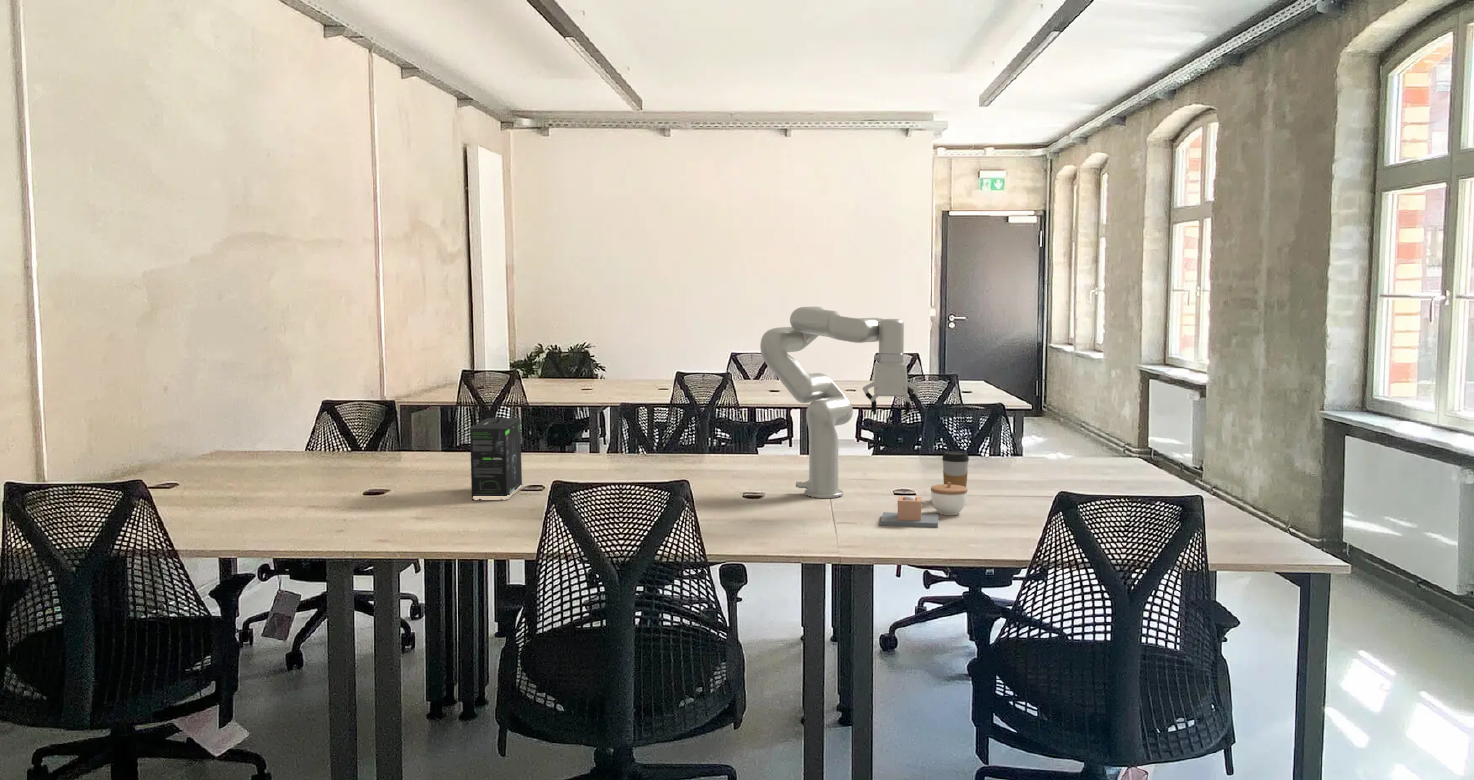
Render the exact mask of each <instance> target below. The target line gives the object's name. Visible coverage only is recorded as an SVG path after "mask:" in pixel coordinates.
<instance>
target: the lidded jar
mask: <svg viewBox="0 0 1474 780" xmlns="http://www.w3.org/2000/svg"><path fill="white" fill-rule="evenodd" d="M930 494H931V495H930V498H931V503H932V506H933V508H934V509H935V510H936V511H937V513H938V512H939V513H940V514H939V513H938V514H939V515H943V514H944V516H955V515H956V516H957V515H960V512H962V510H963V509H964V508H965V506H966V505H967V504H966V503H967V497H968V488H967V486H966V487H964V486H960V485H952V484H951V482H947V484H944V483H943V484H935V485H932V486H931V487H930Z"/></svg>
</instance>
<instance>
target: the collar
mask: <svg viewBox="0 0 1474 780" xmlns="http://www.w3.org/2000/svg"><path fill="white" fill-rule="evenodd" d="M905 497H906V496H903V495H902V496H900V495H899V496H898V498H897V513H898V520H919V521H921V514H922V500H923V498H922V496H914V497H915V500H905Z"/></svg>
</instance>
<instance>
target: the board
mask: <svg viewBox="0 0 1474 780" xmlns="http://www.w3.org/2000/svg"><path fill="white" fill-rule="evenodd" d="M915 497H916V496H912V495H909V496H907V495H906V496H905V500H915ZM880 519H881V520H880V526H887V527H888V526H889V527H890V526H891V527H892V526H894V527H912V528H913V527H917V528H919V527H921V528H938V527H939V513H937V514H936V513H921V521H919V520H898V512H888V511H887V512H885V511H884V512H882V515H881V518H880Z"/></svg>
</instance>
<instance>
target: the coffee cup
mask: <svg viewBox="0 0 1474 780" xmlns="http://www.w3.org/2000/svg"><path fill="white" fill-rule="evenodd" d="M969 458H970V457H969V456H968V452H966V451H959V450H949V451H948V450H947V451H944V452H943V455H942V459H941V460H942V468H943V469H942V472H943V473H942V474H943V475H942V476H943V484H947V482H951V484H952V485H960V486H964V487H966V488H967V485H968V484H967V482H968V474H969V471H968V470H969V469H968V467H969V461H970V459H969Z"/></svg>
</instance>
